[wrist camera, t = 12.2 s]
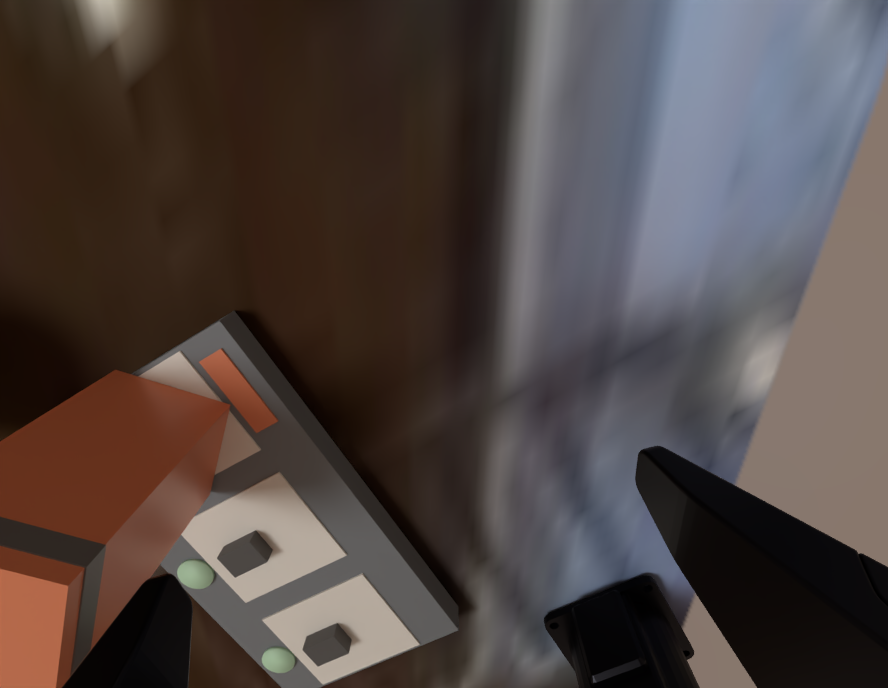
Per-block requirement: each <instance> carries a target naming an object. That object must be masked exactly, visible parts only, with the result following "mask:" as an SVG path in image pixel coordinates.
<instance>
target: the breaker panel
mask: <svg viewBox="0 0 888 688" xmlns="http://www.w3.org/2000/svg"><path fill="white" fill-rule="evenodd" d="M131 375H135V376H138V377H141V378H145V379H148V380H151V381H154V382H158V383H161V384H164V385H168V386H171V387H174V388H177V389H181V390H184V391H187V392H191V393H194V394H197V395H200V396H204V397H207V398H210V399H214V400H217V401H220V402H223V403H227V404H230V410H229V414H228V418H227V423H226V427H225V431H224V436H223V440H222V444H221V449H220V453H219V457H218V462H217V466H216V471H215V475H214V479H213V484H212V488H211V492H210V495H209V496H208V498H207V499H206V500H205V502H204V503H203V505H202V506H201V507H200V509H199V510H198V512H197V513H196V514H195V516H194V517H193V519H192V520H191V521H190V523H189V524H188V526H187V527H186V528H185V530H184V531H183V533H182V534H181V535H180V537H179V538H178V540H177V541H176V542H175V544H174V545H173V547H172V548H171V549H170V551H169V552H168V554H167V555H166V556H165V558H164V559H163V561H162V562H161V563H160V565H161V566H162V567H163V568H164V569H165V570H166V571H167V572H168V573H170V574H173V575H174V576H175V577H176V578H177V579H178V581H179V582H180V584H181V585H182V587H183V588H184V589H185V590H186V591H187V592H188V593H189V594H190V595H191V596H192V597H193V598H194V599H195V600H196V601H197V602H198V603H199V604H200V605H201V606H202V607H203V608H204V609H205V610H206V611H207V612H208V613H209V614H210V615H211V616H212V617H213V618H214V619H215V620H216V621H217V622H218V624H219V625H220V626H221V627H222V628H223V629H224V630H225V631H226V632H227V633H228V634H229V635H230V636H231V637H232V638H233V639H234V640H235V641H236V642H237V643H238V644H239V645H240V646H241V647H242V648H243V649H244V650H245V651H246V652H247V653H248V654H249V655H250V656H251V657H252V658H253V659H254V660H255V661H256V662H257V663H258V664H259V665H260V666H261V667H262V668H263V669H264V670H265V671H266V672H267V673H268V674H269V675H270V676H271V677H272V678H273V679H274V680H275V681H276V682H277V683H278V684H279V685H280V686H281V687H282V688H320V687H322V686H324V685H327V684H329V683H332V682H334V681H337V680H339V679H341V678H344V677H346V676H349V675H351V674H354V673H356V672H358V671H361V670H363V669H366V668H368V667H370V666H373V665H375V664H378V663H380V662H383V661H385V660H387V659H390V658H392V657H395V656H397V655H400V654H402V653H404V652H407V651H409V650H412V649H414V648H416V647H419V646H421V645H424V644H426V643H429V642H431V641H433V640H436V639H438V638H441V637H443V636H446V635H448V634H450V633H453V632H455V631H458V630H459V627H458V605H457V604H456V603H455V601H454V600H453V599H452V597H451V596H450V595H449V593H448V592H447V591H446V590H445V588H444V587H443V586H442V584H441V583H440V582H439V580H438V579H437V578H436V576H435V575H434V574H433V572H432V571H431V570H430V568H429V567H428V566H427V564H426V563H425V562H424V560H423V559H422V558H421V556H420V555H419V554H418V553H417V551H416V550H415V549H414V547H413V546H412V545H411V543H410V542H409V541H408V539H407V538H406V537H405V535H404V534H403V533H402V531H401V530H400V529H399V527H398V526H397V525H396V523H395V522H394V521H393V519H392V518H391V517H390V516H389V514H388V513H387V512H386V510H385V509H384V508H383V506H382V505H381V504H380V502H379V501H378V500H377V498H376V497H375V496H374V494H373V493H372V492H371V490H370V489H369V488H368V486H367V485H366V484H365V482H364V481H363V480H362V479H361V477H360V476H359V475H358V473H357V472H356V471H355V469H354V468H353V467H352V465H351V464H350V463H349V461H348V460H347V459H346V457H345V456H344V455H343V453H342V452H341V451H340V449H339V448H338V447H337V445H336V444H335V443H334V442H333V440H332V439H331V438H330V436H329V435H328V434H327V432H326V431H325V430H324V428H323V427H322V426H321V424H320V423H319V422H318V420H317V419H316V418H315V416H314V415H313V414H312V412H311V411H310V410H309V408H308V407H307V406H306V405H305V403H304V402H303V401H302V399H301V398H300V397H299V395H298V394H297V393H296V391H295V390H294V389H293V387H292V386H291V385H290V383H289V382H288V381H287V379H286V378H285V377H284V375H283V374H282V373H281V371H280V370H279V369H278V367H277V366H276V365H275V364H274V362H273V361H272V360H271V358H270V357H269V356H268V354H267V353H266V352H265V350H264V349H263V348H262V346H261V345H260V344H259V342H258V341H257V340H256V338H255V337H254V336H253V334H252V333H251V332H250V330H249V329H248V328H247V327H246V325H245V324H244V323H243V321H242V320H241V319H240V317H239V316H238V315H237V313H236V312H235V311H233V312H231V313H229V314H228V315H226V316H225V317H223V318H221V319H220V320H218V321H216V322H215V323H213V324H212V325H210V326H208V327H207V328H205V329H203V330H202V331H200V332H199V333H197V334H195V335H194V336H192V337H190V338H189V339H187V340H186V341H184V342H182V343H181V344H179V345H177V346H176V347H174V348H173V349H171V350H169V351H168V352H166V353H164V354H163V355H161V356H160V357H158V358H156V359H155V360H153V361H151V362H150V363H148V364H147V365H145V366H143V367H142V368H140V369H138V370H137V371H135V372H134V373H132V374H131Z"/></svg>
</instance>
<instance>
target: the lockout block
mask: <svg viewBox="0 0 888 688" xmlns="http://www.w3.org/2000/svg"><path fill="white" fill-rule="evenodd" d="M229 410H230V404H227V403H223V402H220V401H217V400H214V399H210V398H207V397H204V396H200V395H197V394H194V393H191V392H187V391H184V390H181V389H177V388H174V387H171V386H168V385H164V384H161V383H158V382H154V381H151V380H148V379H145V378H141V377H138V376H135V375H131V374H128V373H125V372H122V371H118V370H114V371H112V372H111V373H109V374H108V375H106V376H104V377H103V378H101V379H100V380H98V381H96V382H95V383H93V384H92V385H90V386H88V387H87V388H85V389H84V390H82V391H80V392H79V393H77V394H75V395H74V396H72V397H71V398H69V399H67V400H66V401H64V402H63V403H61V404H59V405H58V406H56V407H55V408H53V409H51V410H50V411H48V412H47V413H45V414H43V415H42V416H40V417H39V418H37V419H35V420H34V421H32V422H31V423H29V424H27V425H26V426H24V427H22V428H21V429H19V430H18V431H16V432H14V433H13V434H11V435H10V436H8V437H6V438H5V439H3V440H2V441H0V688H62V686H63V685H64V684H65V683H66V681H67V680H68V679H69V677H70V676H71V675H72V674H73V672H74V671H75V670H76V668H77V667H78V666H79V665H80V663H81V662H82V661H83V659H84V658H85V657H86V656H87V654H88V653H89V652H90V650H91V649H92V648H93V647H94V645H95V644H96V643H97V641H98V640H99V639H100V638H101V636H102V635H103V634H104V632H105V631H106V630H107V629H108V627H109V626H110V625H111V623H112V622H113V621H114V620H115V618H116V617H117V616H118V614H119V613H120V612H121V611H122V609H123V608H124V607H125V605H126V604H127V603H128V602H129V600H130V599H131V598H132V596H133V595H134V594H135V593H136V591H137V590H138V589H139V587H140V586H141V585H142V584H143V583H144V582H145V581H146V580H147V579H149V578H150V577H151V576H152V575H153V573H154V572H155V570H156V569H157V568H158V566H159V565H160V563H161V562H162V561H163V559H164V558H165V556H166V555H167V554H168V552H169V551H170V549H171V548H172V547H173V545H174V544H175V542H176V541H177V540H178V538H179V537H180V535H181V534H182V533H183V531H184V530H185V528H186V527H187V526H188V524H189V523H190V521H191V520H192V519H193V517H194V516H195V514H196V513H197V512H198V510H199V509H200V507H201V506H202V505H203V503H204V502H205V500H206V499H207V498H208V496H209V495H210V492H211V488H212V484H213V479H214V475H215V471H216V466H217V462H218V457H219V453H220V449H221V444H222V440H223V436H224V431H225V427H226V423H227V418H228V414H229Z"/></svg>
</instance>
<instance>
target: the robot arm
mask: <svg viewBox="0 0 888 688" xmlns="http://www.w3.org/2000/svg"><path fill="white" fill-rule="evenodd" d="M635 480H636V485H637V488H638V490H639V492H640V494H641V496H642V498H643V500H644V502H645V504H646V506H647V508H648V510H649V512H650V514H651V516H652V518H653V520H654V522H655V524H656V526H657V528H658V529H659V531H660V533H661V535H662V537H663V539H664V541H665V543H666V545H667V547H668V549H669V551H670V553H671V554H672V556H673V558H674V560H675V561H676V563H677V565H678V566H679V568H680V570H681V571H682V573H683V574H684V576H685V577H686V579H687V580H688V582H689V583H690V585H691V586H692V588H693V590H694V591H695V593H696V594H697V596H698V597H699V599H700V600H701V602H702V603H703V605H704V606H705V608H706V610H707V611H708V613H709V614H710V616H711V617H712V619H713V620H714V622H715V623H716V625H717V626H718V628H719V630H720V631H721V632H722V634H723V636H724V637H725V639H726V640H727V642H728V643H729V645H730V646H731V648H732V649H733V651H734V653H735V654H736V656H737V657H738V659H739V660H740V662H741V663H742V665H743V666H744V668H745V669H746V671H747V673H748V674H749V676H750V677H751V679H752V680H753V682H754V683H755V685H756V686H757V688H888V567H887V566H885V565H883V564H881V563H879V562H877V561H875V560H874V559H872V558H870V557H868V556H866V555H864V554H861V553H860V554H858V552H857V551H856V550H855V549H853V548H851V547H849V546H847V545H845V544H843V543H842V542H840V541H838V540H836V539H834V538H832V537H830V536H828V535H827V534H825V533H823V532H821V531H819V530H817V529H815V528H813V527H811V526H810V525H808V524H806V523H804V522H802V521H800V520H799V519H797V518H795V517H793V516H791V515H789V514H787V513H785V512H784V511H782V510H780V509H778V508H776V507H774V506H772V505H770V504H768V503H767V502H765V501H763V500H761V499H759V498H757V497H756V496H754V495H752V494H750V493H748V492H746V491H744V490H742V489H741V488H739V487H737V486H735V485H733V484H731V483H729V482H728V481H726V480H724V479H722V478H720V477H718V476H716V475H714V474H713V473H711V472H709V471H707V470H705V469H703V468H701V467H700V466H698V465H696V464H694V463H692V462H690V461H688V460H686V459H685V458H683V457H681V456H679V455H677V454H675V453H673V452H672V451H670V450H668V449H666V448H664V447H661V446H654V447H650V448H646V449H643V450H641V451H640V452H639V454H638V460H637V468H636V476H635ZM646 585H647V586H646ZM192 613H193V609H192V602H191V599H190V597H189V595H188V594H187V592H186V591H185V590H184V588H183V587H182V585H181V584H180V582H179V581H178V579H177V578H176V577H175V576H174V575H173V574H170V573H168V574H163V575H160V576H156V577H152V578H149V579H147V580H146V581H145V582H144V583H143V584H142V585H141V586H140V587H139V589H138V590H137V591H136V593H135V594H134V595H133V596H132V598H131V599H130V600H129V602H128V603H127V604H126V605H125V607H124V608H123V609H122V611H121V612H120V613H119V614H118V616H117V617H116V618H115V620H114V621H113V622H112V623H111V625H110V626H109V627H108V629H107V630H106V631H105V632H104V634H103V635H102V636H101V638H100V639H99V640H98V641H97V643H96V644H95V645H94V647H93V648H92V649H91V650H90V652H89V653H88V654H87V656H86V657H85V658H84V659H83V661H82V662H81V663H80V665H79V666H78V667H77V668H76V670H75V671H74V672H73V674H72V675H71V676H70V677H69V679H68V680H67V681H66V683H65V684H64V685H63V686H62V688H188V681H189V664H190V647H191V630H192ZM554 622H555V623H554ZM544 623H545V628H546V630H547V631H548V633H549V634H550V636H551V637H552V638H553V640H554V641H555V643H556V644H557V646H558V647H559V649H560V650H561V651H562V653H563V654H564V656H565V657H566V659H567V660H568V662H569V663H570V664H571V666H572V667H573V669H574V670H575V672H576V676H577V680H578V685H579V688H700V687H699V685H698V683H697V681H696V679H695V677H694V675H693V672H692V670H691V668H690V666H689V664H688V662H687V660H688V659H690V658H691V657H692V656H693V655H694V650H693V648H692V646H691V644H690V642H689V641H688V639H687V637H686V635H685V633H684V632H683V630H682V628H681V626H680V625H679V623H678V621H677V619H676V618H675V616H674V614H673V612H672V610H671V609H670V607H669V605H668V603H667V602H666V600H665V598H664V596H663V595H662V593H661V591H660V589H659V588H658V586H657V584H656V582H655V581H654V579H653V578H652V577H650V576H641V577H639V578H636V579H634V580H631V581H629V582H626V583H624V584H621V585H619V586H616V587H614V588H612V589H609V590H607V591H604V592H602V593H599V594H597V595H594V596H592V597H589V598H587V599H584V600H582V601H579V602H577V603H574V604H572V605H569V606H567V607H564V608H562V609H560V610H557V611H555V612H552V613H550V614H548V615H546V616H545V618H544Z"/></svg>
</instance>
